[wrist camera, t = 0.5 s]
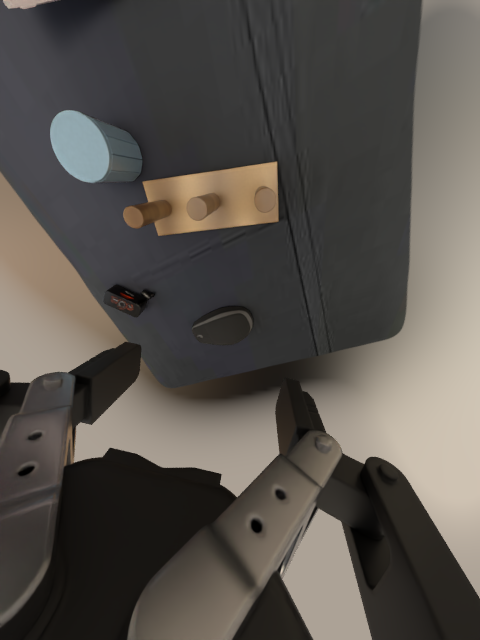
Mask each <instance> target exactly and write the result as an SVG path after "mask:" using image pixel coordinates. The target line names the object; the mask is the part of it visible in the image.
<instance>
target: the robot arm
mask: <svg viewBox="0 0 480 640" xmlns="http://www.w3.org/2000/svg"><path fill="white" fill-rule="evenodd" d="M140 359H141V346H140V345H138V344H134V343H129V342H124V343H123V344H121V345H120V346H118V347H117V348H112V349H110V350H106V351H103V352H101V353H100V354H98V355H96V357H93V358H91V359H90V360H89V361H87V362H85V363H83V364H81V365H80V366H78V367H77V368H75V369H73V370H72V371H70V372H68V373H66V372H55V373H49V374H45V375H42V376H39V377H37V378H36V379H34V380H33V381H32V382H31V383H10V375H9V373H8V372H6V371H3V370H0V640H313V638H312V637H311V634H310V633H309V631H308V629H307V627H306V625H305V623H304V621H303V619H302V617H301V615H300V613H299V611H298V609H297V607H296V605H295V603H294V602H293V599H292V598H291V595H290V594H289V592H288V590H287V588H286V586H285V584H284V582H283V580H282V579H283V577H284V575H285V573H286V571H287V569H288V567H289V565H290V562H291V561H292V558H293V556H294V554H295V552H296V550H297V548H298V546H299V544H300V543H301V541H302V539H303V537H304V535H305V533H306V531H307V530H308V528H309V526H310V524H311V522H312V520H313V518H314V516H315V515H316V513H317V511H318V509H321V510H323V511H324V512H326V513H328V514H329V515H331V516H333V517H335V518H336V519H338V520H340V521H341V522H342V526H343V529H344V533H345V537H346V541H347V545H348V548H349V553H350V556H351V560H352V564H353V568H354V572H355V576H356V579H357V583H358V587H359V591H360V595H361V598H362V602H363V606H364V610H365V614H366V618H367V621H368V625H369V629H370V633H371V636H372V640H480V598H479V596H478V595H477V593H476V592H475V590H474V588H473V587H472V585H471V584H470V582H469V580H468V579H467V577H466V575H465V573H464V572H463V570H462V569H461V567H460V565H459V564H458V562H457V560H456V559H455V557H454V556H453V554H452V552H451V551H450V549H449V547H448V546H447V544H446V542H445V541H444V539H443V537H442V536H441V534H440V533H439V531H438V529H437V528H436V526H435V524H434V523H433V521H432V519H431V518H430V516H429V514H428V513H427V511H426V510H425V508H424V506H423V505H422V503H421V501H420V500H419V498H418V496H417V495H416V493H415V492H414V490H413V489H412V487H411V485H410V483H409V482H408V480H407V479H406V477H405V476H404V475H403V474H402V472H400V470H398V469H397V468H396V467H395V466H394V465H392V464H391V463H389V462H387V461H385V460H383V459H381V458H378V457H369V458H368V459H367V460H366V462H365V464H363V463H360V462H359V461H356V460H354V459H352V458H350V457H348V456H346V455H345V454H343V453H342V449H341V447H340V445H339V444H338V442H337V441H336V440H335V439H334V438H333V437H332V436H330V435H329V434H327V433H326V431H325V428H324V426H323V423H322V420H321V418H320V415H319V414H318V410H317V408H316V405H315V402H314V399H312V397H311V396H310V395H309V394H308V393H307V392H304V391H302V389H301V386H300V383H299V381H297V380H293V379H289V378H284V380H283V383H282V386H281V389H280V393H279V396H278V400H277V404H276V411H275V412H276V413H275V414H276V423H277V433H278V443H279V452H280V454H279V455H278V456H277V457H276V458H275V459H274V460H273V461H272V462H271V463H270V464H269V465H268V466H267V467H266V468H265V469H264V471H262V473H261V474H260V475H259V476H258V477H257V478H256V479H255V480H254V481H253V482H252V483H251V484H250V485H249V486H248V487H247V488H246V489H245V490H244V491H243V492H242V493H241V494H240V496H238V497H236V496H235V495H234V494H233V493H232V492H231V491H229V490H228V489H227V488H225V487H223V486H222V485H220V480H221V474H219V473H215V472H211V471H206V470H202V469H198V468H162V467H159V466H158V465H156V464H154V463H152V462H150V461H149V460H147V459H145V458H143V457H141V456H140V455H138V454H135V453H130V452H126V451H121V450H118V449H113V448H109V450H108V451H107V452H106V454H105V455H104V456H103V457H99V458H91V459H86V460H82V461H78V462H75V463H74V452H75V439H76V426H77V425H78V424H79V423H80V422H82V423H86V424H91V425H92V424H93V423H94V422H95V421H96V420H97V419H98V418H99V417H100V416H101V415H102V414H103V413H104V412H105V411H106V410H107V409H108V408H109V407H110V406H111V405H112V404H113V403H114V402H115V401H116V400H117V398H119V397H120V396H121V395H122V394H123V393H124V392H125V391H126V390H127V389H128V388H129V387H130V386H131V385H132V383H134V382H135V380H136V379H137V377H138V375H139V371H140Z"/></svg>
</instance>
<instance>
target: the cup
mask: <svg viewBox="0 0 480 640" xmlns="http://www.w3.org/2000/svg"><path fill="white" fill-rule="evenodd" d="M50 138H51V144H52V147H53V150H54V152H55V155H56V157H57V158H58V160H59V162H60V163H61V164H62V166H63V167H64V168H65V169H66V170H67V171H68V172H69V173H70V174H71V175H72V176H74V177H75V178H77V179H79V180H81V181H84V182H89V183H126V182H133V181H134V180H135V179H136V178H137V177H138V176H139V175H140V173H141V169H142V162H143V160H142V156H141V152H140V148H139V146H138V144H137V142H136V141H135V140H134V139H133V137H132V136H131V135H130V133H128V132H127V131H125V130H123V129H121V128H119V127H117V126H114V125H112V124H109V123H107V122H104V121H102V120H99V119H97V118H94V117H91V116H89V115H86V114H84V113H81V112H79V111H73V110H65V111H62V112H60V113H58V114H57V115H56V116H55V118H54V119H53V121H52V124H51V129H50Z"/></svg>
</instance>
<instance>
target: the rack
mask: <svg viewBox="0 0 480 640" xmlns="http://www.w3.org/2000/svg"><path fill="white" fill-rule="evenodd" d="M143 186H144V189H145V192H146V196H147V199H148V203H143V204H138V205H132V206H128V207H126V208H125V210H124V213H123V216H124V220H125V221H126V223H127V224H128V225H129V226H130V227H132V228H140V227H143V226H145V225H148V224H150V223H153V222H155V226H156V229H157V232H158V236H161V235H170V234H178V233H187V232H195V231H204V230H212V229H221V228H229V227H238V226H246V225H254V224H263V223H271V222H279V215H278V176H277V162H270V163H264V164H257V165H250V166H244V167H237V168H230V169H224V170H217V171H210V172H204V173H197V174H190V175H184V176H177V177H170V178H164V179H157V180H150V181H144V182H143Z"/></svg>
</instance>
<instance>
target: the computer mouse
mask: <svg viewBox="0 0 480 640" xmlns="http://www.w3.org/2000/svg"><path fill="white" fill-rule="evenodd" d="M252 327H253V317H252V315H251V313H250V312H249V311H248V310H247V309H246V308H243V307H238V306H231V307H224V308H220V309H217V310H215V311H213V312H211V313H209V314H207V315H205V316H203V317H201V318H200V319H198V320H197V321H196V322H194V324H193V327H192V332H193V334H194V336H195V337H196V339H197V340H198V341H199V342H201V343H206V344H214V345H232V344H235V343H238V342H240V341H241V340H243V339H244V338H245V337H246V336H247V335H248V334H249V333H250V331H251V329H252Z"/></svg>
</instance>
